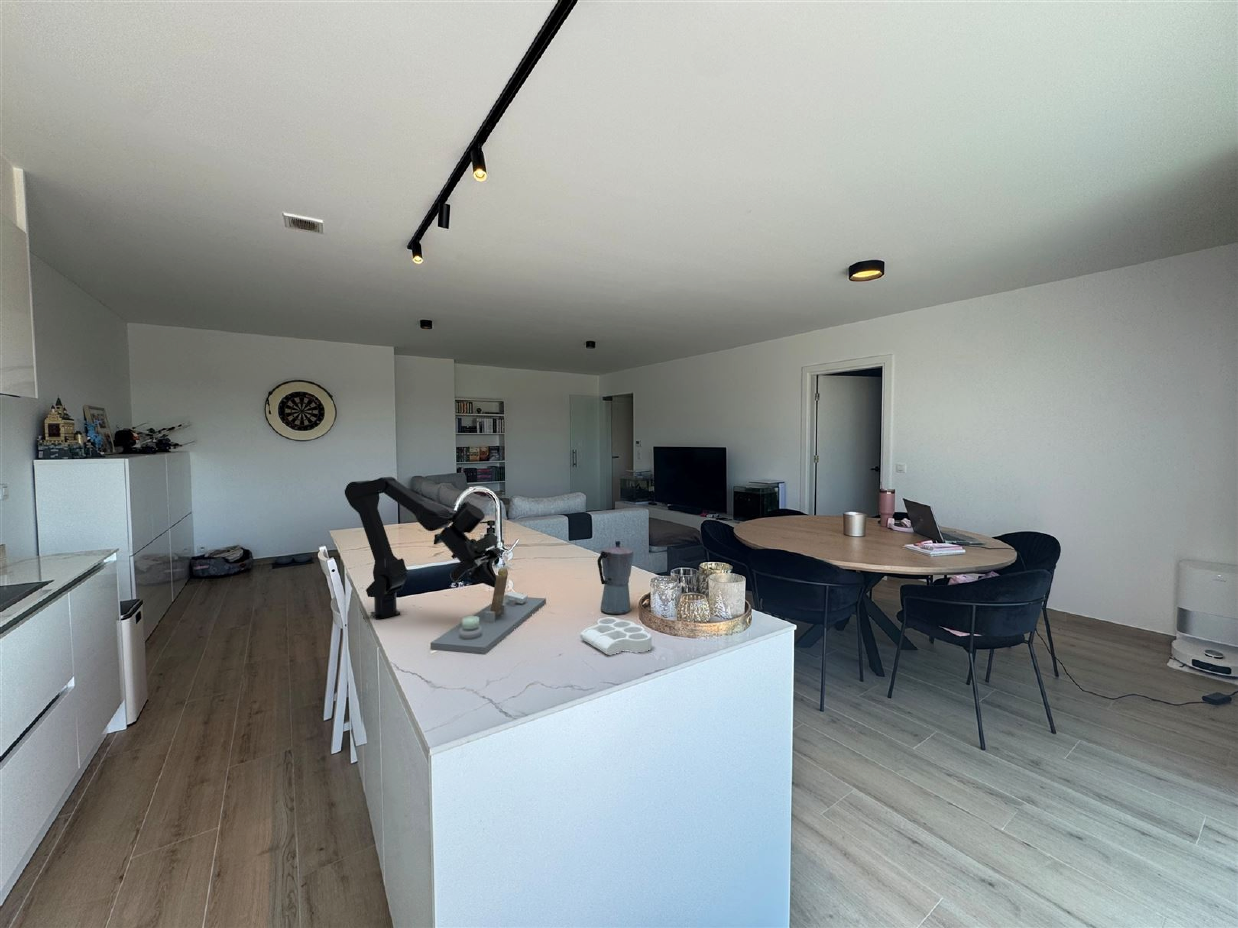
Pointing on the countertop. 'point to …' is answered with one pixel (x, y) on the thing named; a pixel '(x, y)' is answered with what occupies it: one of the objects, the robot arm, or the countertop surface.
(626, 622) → the white compartment tray
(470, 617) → the sage button
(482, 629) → the switch panel
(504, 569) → the walnut lever
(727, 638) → the countertop surface
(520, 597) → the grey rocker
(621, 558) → the moka pot
